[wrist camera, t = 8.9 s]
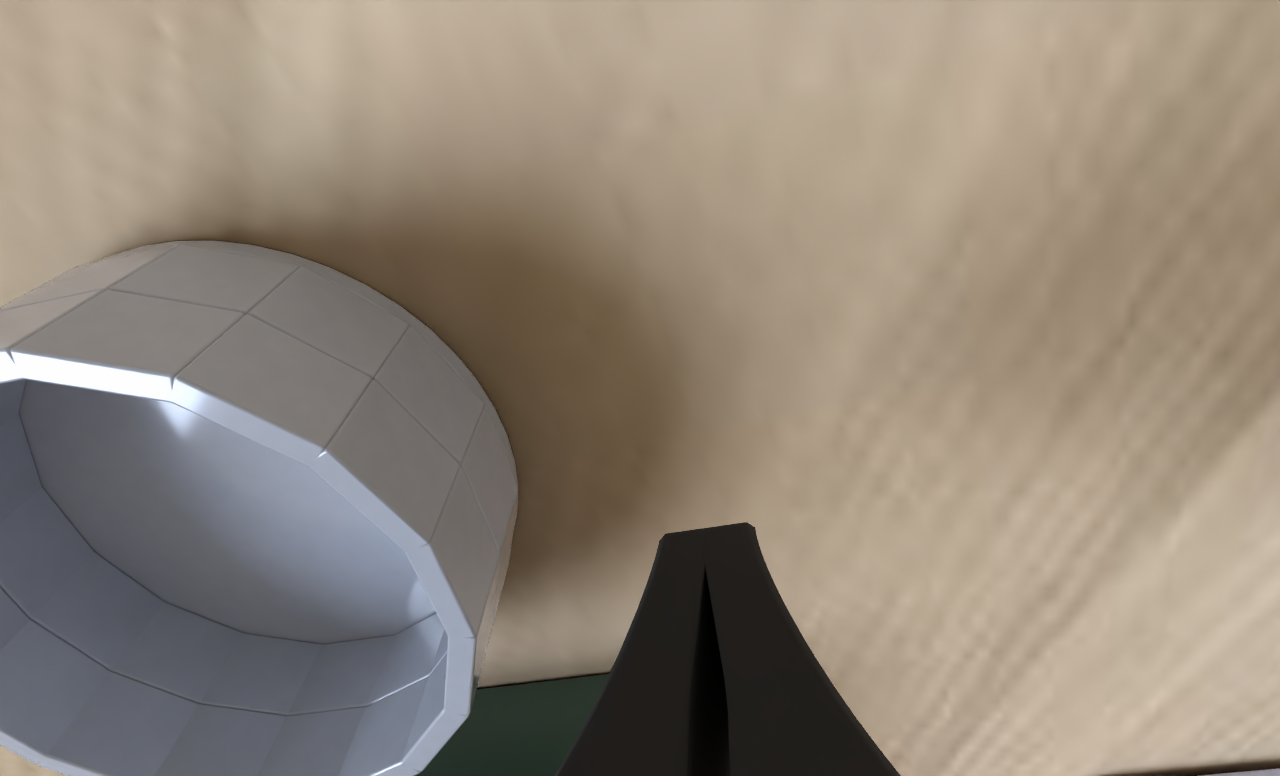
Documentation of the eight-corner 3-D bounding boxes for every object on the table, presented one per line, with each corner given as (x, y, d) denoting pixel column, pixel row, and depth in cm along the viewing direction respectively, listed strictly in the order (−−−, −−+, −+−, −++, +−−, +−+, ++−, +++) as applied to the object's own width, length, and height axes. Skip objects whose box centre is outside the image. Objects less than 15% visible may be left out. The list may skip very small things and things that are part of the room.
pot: (574, 609, 19) (548, 786, 15) (187, 660, 20) (70, 834, 16) (413, 185, 13) (305, 285, 9) (-100, 299, 15) (-379, 427, 11)
